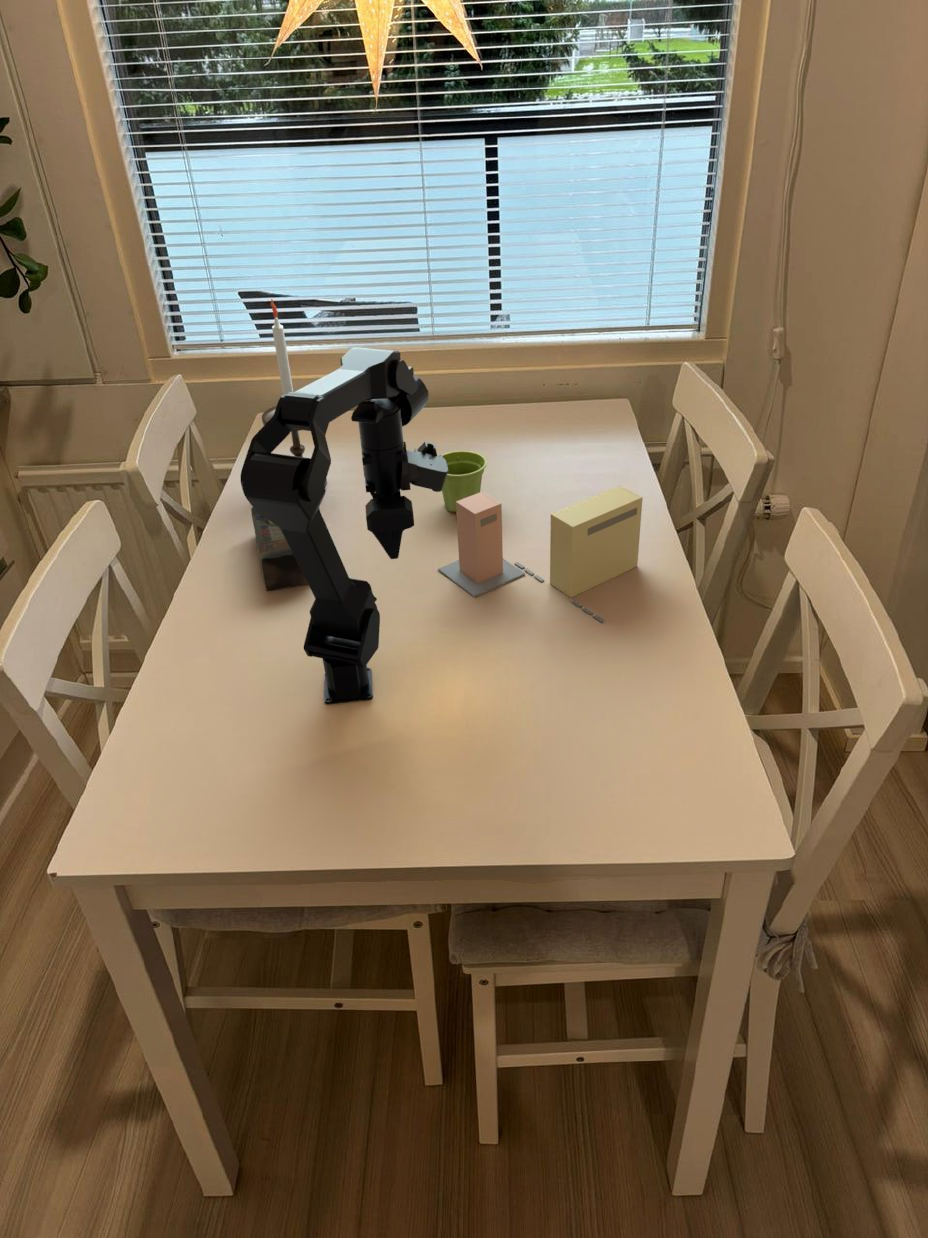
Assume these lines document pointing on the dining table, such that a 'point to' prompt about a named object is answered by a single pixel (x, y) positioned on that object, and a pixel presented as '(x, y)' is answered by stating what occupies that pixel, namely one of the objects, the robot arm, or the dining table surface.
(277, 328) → the candlestick
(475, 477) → the plant pot
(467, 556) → the stub
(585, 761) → the dining table surface
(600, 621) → the perforation marks
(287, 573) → the beverage carton
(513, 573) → the coaster
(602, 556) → the block
